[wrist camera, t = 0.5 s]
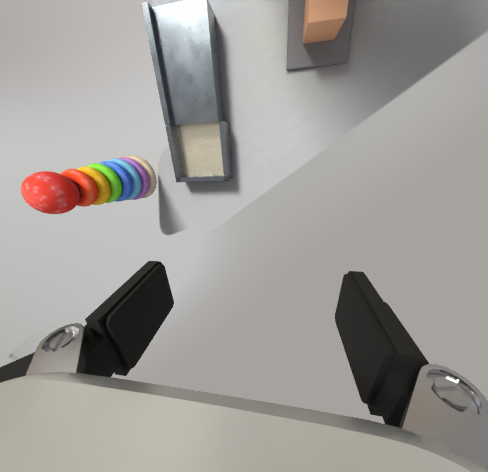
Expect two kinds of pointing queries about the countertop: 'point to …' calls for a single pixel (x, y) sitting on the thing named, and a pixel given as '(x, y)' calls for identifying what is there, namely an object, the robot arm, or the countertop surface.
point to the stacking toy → (90, 185)
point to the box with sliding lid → (190, 88)
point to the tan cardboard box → (323, 19)
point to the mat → (316, 51)
